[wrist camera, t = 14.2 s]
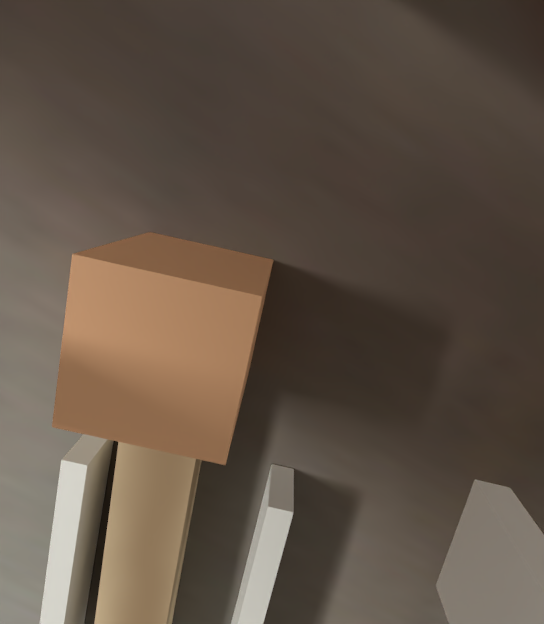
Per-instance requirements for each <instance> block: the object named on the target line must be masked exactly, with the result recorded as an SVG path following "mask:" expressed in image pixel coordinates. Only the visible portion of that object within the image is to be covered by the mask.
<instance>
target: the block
mask: <svg viewBox="0 0 544 624" xmlns="http://www.w3.org/2000/svg"><path fill="white" fill-rule="evenodd" d="M272 265H273V260H272V259H268V258H263V257H259V256H254V255H250V254H246V253H241V252H237V251H232V250H228V249H223V248H219V247H214V246H210V245H206V244H201V243H197V242H192V241H188V240H183V239H179V238H174V237H170V236H165V235H161V234H157V233H152V232H148V233H145V234H141V235H138V236H134V237H131V238H127V239H124V240H120V241H117V242H113V243H109V244H106V245H102V246H99V247H95V248H92V249H88V250H85V251H81V252H78V253H74V254H72V262H71V270H70V279H69V287H68V296H67V304H66V313H65V321H64V330H63V338H62V347H61V355H60V364H59V372H58V381H57V389H56V398H55V406H54V415H53V423H52V427H54V428H59V429H63V430H68V431H72V432H77V433H81V434H86V435H90V436H95V437H99V438H104V439H108V440H113V441H118V442H122V443H127V444H131V445H136V446H140V447H145V448H149V449H154V450H158V451H163V452H167V453H172V454H177V455H181V456H186V457H190V458H195V459H199V460H204V461H208V462H213V463H217V464H222V465H226V461H227V457H228V453H229V449H230V445H231V441H232V437H233V433H234V429H235V425H236V421H237V417H238V413H239V409H240V405H241V401H242V397H243V393H244V390H245V386H246V382H247V378H248V373H249V369H250V364H251V360H252V355H253V351H254V346H255V342H256V337H257V333H258V328H259V324H260V319H261V314H262V310H263V305H264V301H265V296H266V292H267V287H268V283H269V278H270V274H271V269H272Z"/></svg>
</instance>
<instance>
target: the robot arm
mask: <svg viewBox="0 0 544 624" xmlns="http://www.w3.org/2000/svg"><path fill="white" fill-rule="evenodd" d="M436 588H437V591H438V594H439V597H440V600H441V603H442V606H443V609H444V611H445V614H446V617H447V620H448V623H449V624H544V534H543V533H542V531H541V530H540V529H539V527H538V526H537V524H536V523H535V522H534V520H533V519H532V517H531V516H530V515H529V513H528V512H527V510H526V509H525V508H524V506H523V505H522V503H521V502H520V501H519V499H518V498H517V496H516V495H515V494H514V492H513V491H512V489H511V488H510V487H505V486H501V485H497V484H493V483H488V482H484V481H480V480H476V479H475V480H474V483H473V485H472V488H471V491H470V494H469V496H468V499H467V502H466V504H465V507H464V510H463V513H462V515H461V518H460V521H459V523H458V526H457V529H456V532H455V534H454V537H453V540H452V542H451V545H450V548H449V551H448V553H447V556H446V559H445V561H444V564H443V567H442V570H441V572H440V575H439V578H438V580H437V583H436Z"/></svg>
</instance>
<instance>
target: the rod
mask: <svg viewBox="0 0 544 624" xmlns="http://www.w3.org/2000/svg"><path fill="white" fill-rule="evenodd" d="M201 461H202V460H199V459H195V458H190V457H186V456H181V455H177V454H172V453H167V452H163V451H158V450H154V449H149V448H145V447H140V446H136V445H131V444H127V443H122V442H119V443H118V450H117V458H116V465H115V473H114V480H113V488H112V495H111V503H110V510H109V518H108V525H107V532H106V540H105V547H104V555H103V562H102V570H101V577H100V585H99V592H98V600H97V607H96V615H95V622H94V624H172V620H173V615H174V609H175V604H176V598H177V593H178V587H179V582H180V576H181V571H182V565H183V560H184V554H185V549H186V543H187V538H188V532H189V527H190V521H191V516H192V511H193V505H194V500H195V494H196V489H197V483H198V478H199V472H200V467H201Z"/></svg>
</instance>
